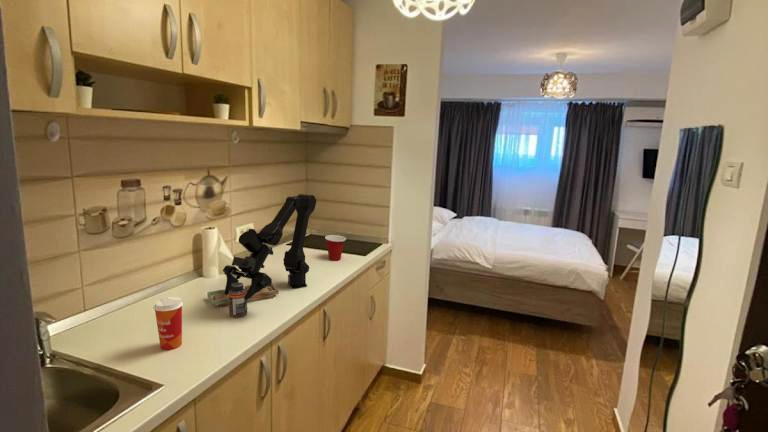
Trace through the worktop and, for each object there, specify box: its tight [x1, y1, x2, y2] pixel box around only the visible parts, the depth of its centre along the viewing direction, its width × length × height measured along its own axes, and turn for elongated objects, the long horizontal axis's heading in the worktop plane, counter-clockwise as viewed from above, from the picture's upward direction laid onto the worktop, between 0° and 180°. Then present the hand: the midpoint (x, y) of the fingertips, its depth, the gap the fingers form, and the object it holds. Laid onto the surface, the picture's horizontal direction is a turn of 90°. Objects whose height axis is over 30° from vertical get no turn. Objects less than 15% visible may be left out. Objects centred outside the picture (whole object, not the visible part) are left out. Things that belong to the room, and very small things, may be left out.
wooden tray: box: [206, 282, 279, 308], centre depth 157 cm, size 25×12×2 cm, turn 121°
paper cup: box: [153, 296, 184, 351], centre depth 119 cm, size 8×8×14 cm
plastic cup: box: [324, 234, 347, 262], centre depth 209 cm, size 11×11×12 cm
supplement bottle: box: [228, 282, 248, 318], centre depth 142 cm, size 6×6×11 cm
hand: (235, 297), depth 140 cm, fingers open, 9 cm apart
